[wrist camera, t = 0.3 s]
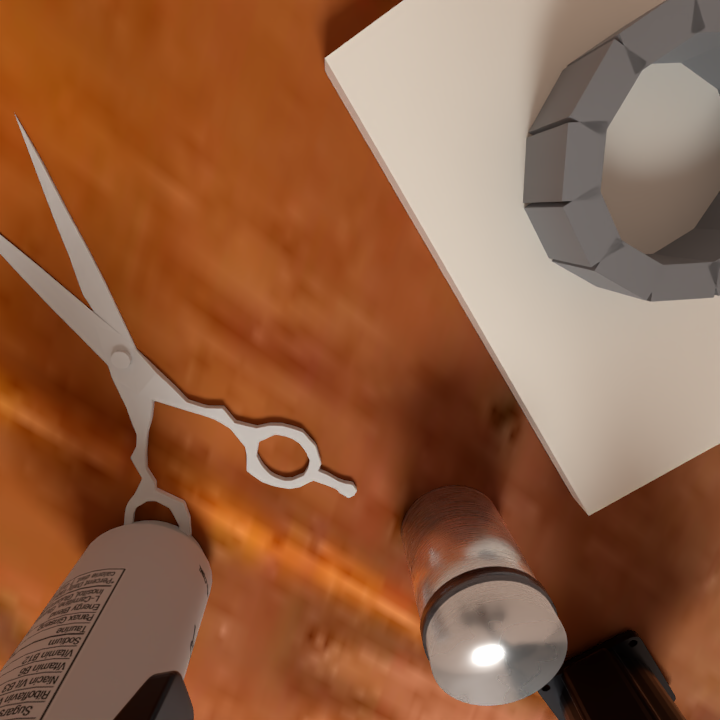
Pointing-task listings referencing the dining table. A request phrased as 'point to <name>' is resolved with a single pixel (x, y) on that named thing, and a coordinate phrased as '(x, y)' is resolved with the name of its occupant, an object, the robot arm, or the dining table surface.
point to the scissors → (143, 365)
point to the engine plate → (566, 208)
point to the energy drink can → (110, 626)
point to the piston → (478, 600)
